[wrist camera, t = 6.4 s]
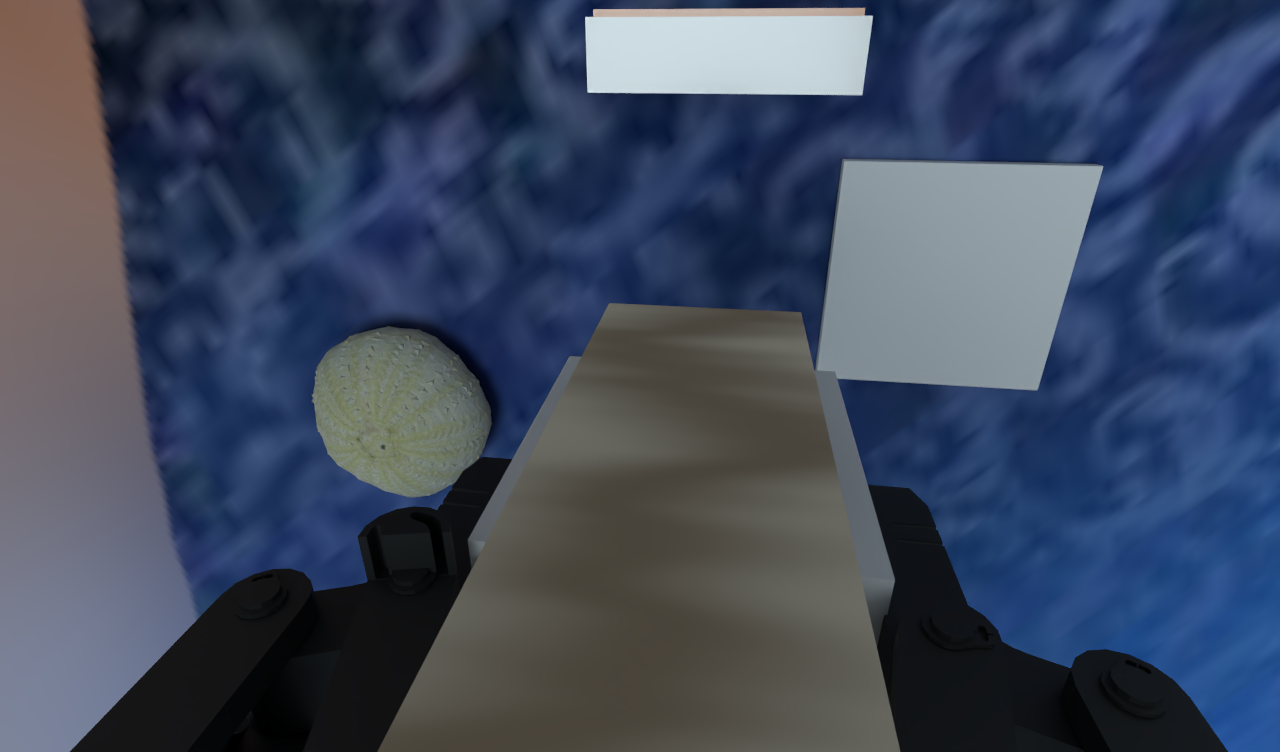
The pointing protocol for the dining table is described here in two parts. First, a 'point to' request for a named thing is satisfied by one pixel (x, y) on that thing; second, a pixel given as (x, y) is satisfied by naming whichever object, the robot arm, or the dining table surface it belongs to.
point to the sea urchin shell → (400, 410)
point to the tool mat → (951, 269)
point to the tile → (728, 51)
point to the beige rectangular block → (666, 563)
